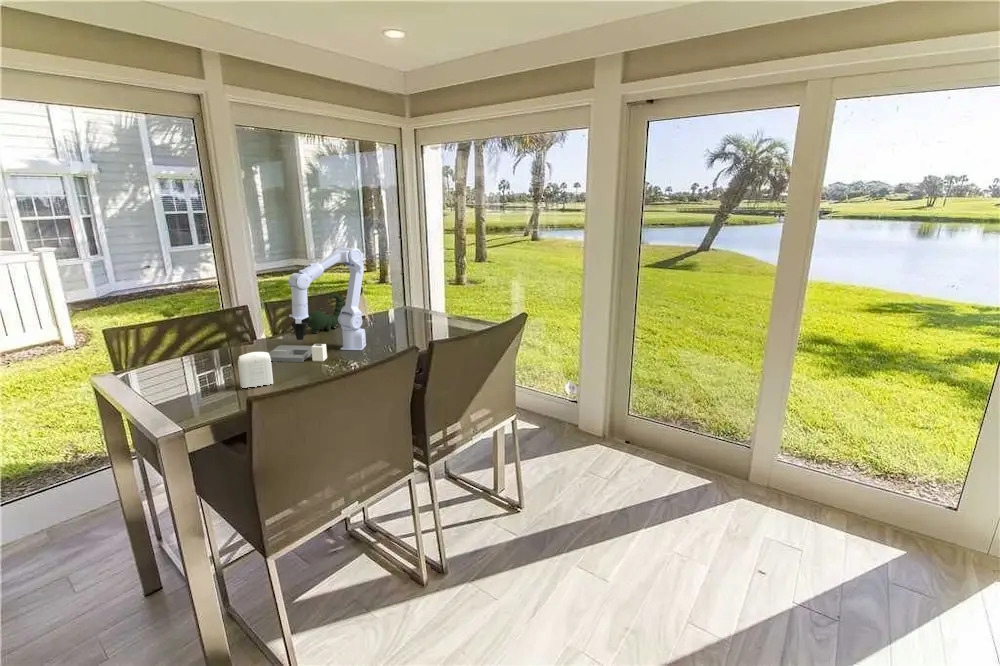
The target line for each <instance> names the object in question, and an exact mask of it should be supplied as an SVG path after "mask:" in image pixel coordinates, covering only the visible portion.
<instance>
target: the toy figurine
mask: <svg viewBox="0 0 1000 666" xmlns="http://www.w3.org/2000/svg"><path fill="white" fill-rule="evenodd" d="M332 298H334V299H335V301H336V302H335V304H334V305H335V307H334V311H333V314H331V315H328V314H326V313H324V311H321V310H312V311H310V312H308V315H309V320H308V322H307V326H308V327H309V328H310V332H311V333H312V332H318V333H319V332H320V330H322V328H323V329H324V328H326V329H327V330H326V329H325V330H326V331H330V330H329V329H332V328H331V327H337V328H338V326H341V325H340V324H339V322H338V317H339V315H340V313H341V309H342V308H343V307H345V304H346V302H345V303H344V301H345V298H343V297H342V296H340V295H339V294H338V293H337V292H334V293H330V296H329V299H332ZM337 325H338V326H337ZM307 326H306V327H307Z"/></svg>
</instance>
